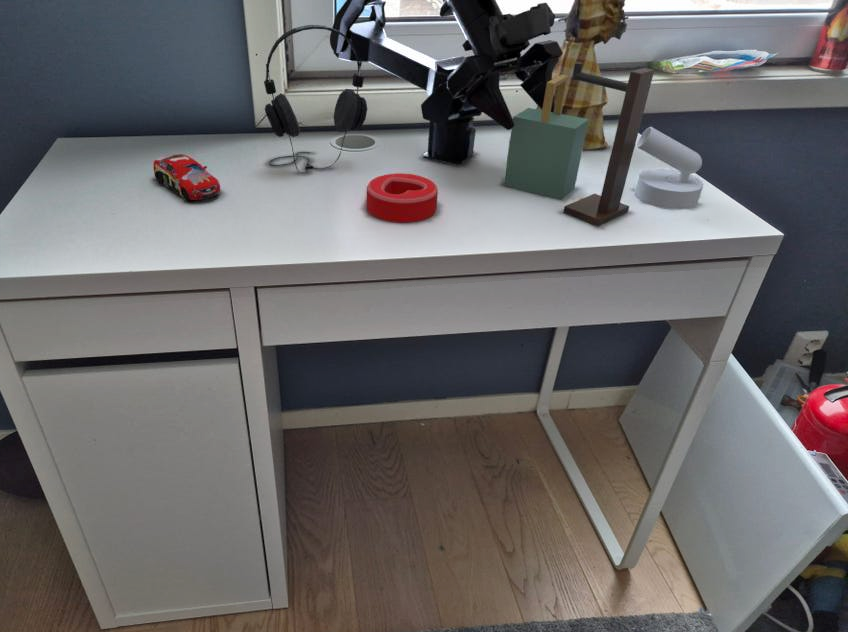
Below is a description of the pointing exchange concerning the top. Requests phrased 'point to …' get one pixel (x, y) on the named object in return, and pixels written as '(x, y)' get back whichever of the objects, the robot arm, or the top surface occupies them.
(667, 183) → the grey spotlight lamp
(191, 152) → the top surface
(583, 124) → the tote bag
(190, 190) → the race car
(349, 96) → the headphones
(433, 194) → the decorative ornament
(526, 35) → the robot arm
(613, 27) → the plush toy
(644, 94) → the hook stand
